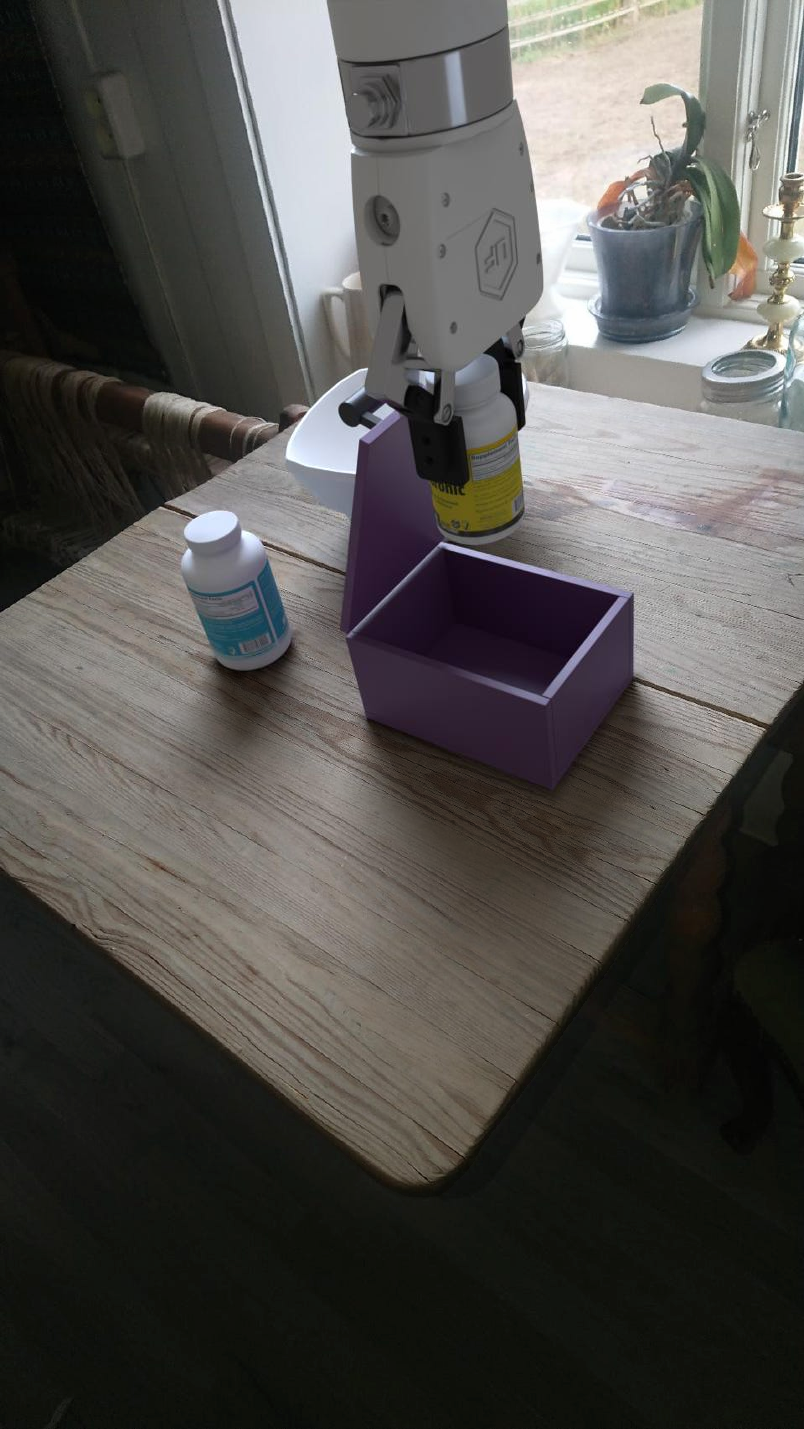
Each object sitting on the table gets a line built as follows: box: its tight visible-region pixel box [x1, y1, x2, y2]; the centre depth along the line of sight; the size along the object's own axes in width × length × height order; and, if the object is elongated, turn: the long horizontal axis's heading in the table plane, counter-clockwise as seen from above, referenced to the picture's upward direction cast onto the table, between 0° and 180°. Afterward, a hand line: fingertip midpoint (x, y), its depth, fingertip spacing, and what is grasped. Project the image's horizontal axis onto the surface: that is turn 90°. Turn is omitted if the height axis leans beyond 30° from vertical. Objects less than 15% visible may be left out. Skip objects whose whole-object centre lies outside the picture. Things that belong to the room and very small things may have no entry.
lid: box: [338, 382, 445, 636], centre depth 71 cm, size 18×14×5 cm
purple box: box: [345, 542, 635, 791], centre depth 77 cm, size 18×14×9 cm
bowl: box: [284, 367, 531, 543], centre depth 97 cm, size 22×22×12 cm
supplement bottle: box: [425, 354, 526, 546], centre depth 56 cm, size 5×5×10 cm
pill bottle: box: [180, 510, 292, 671], centre depth 86 cm, size 8×7×14 cm
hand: (472, 449), depth 56 cm, fingers closed on supplement bottle, 5 cm apart
